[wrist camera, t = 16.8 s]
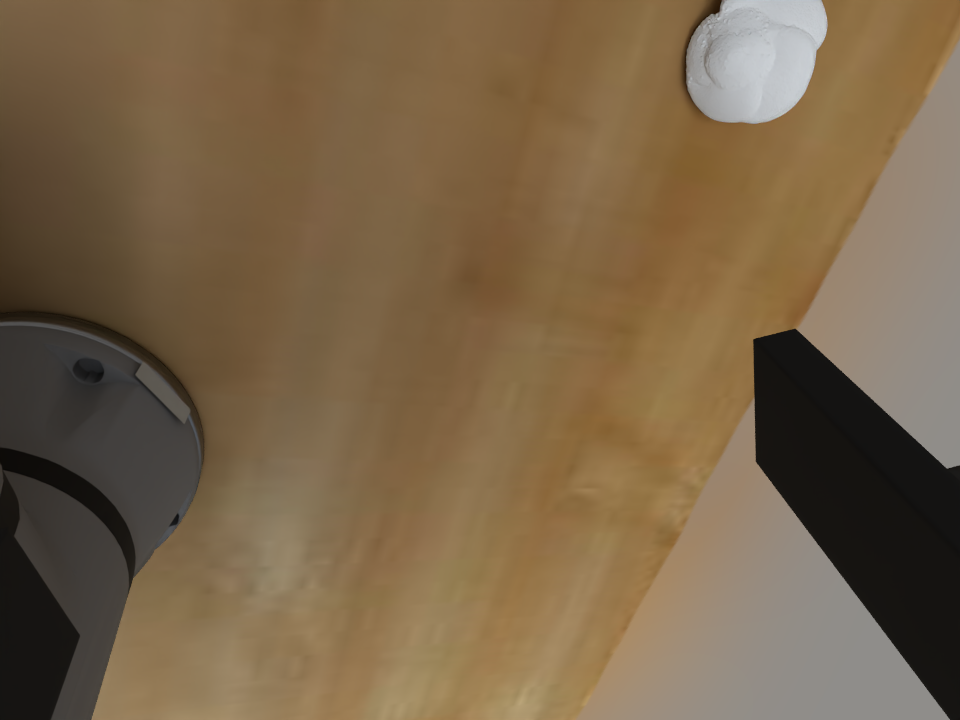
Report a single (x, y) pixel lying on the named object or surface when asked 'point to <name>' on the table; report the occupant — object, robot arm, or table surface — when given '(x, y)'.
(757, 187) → the table surface
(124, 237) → the table surface
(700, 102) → the white foraminifera shell
